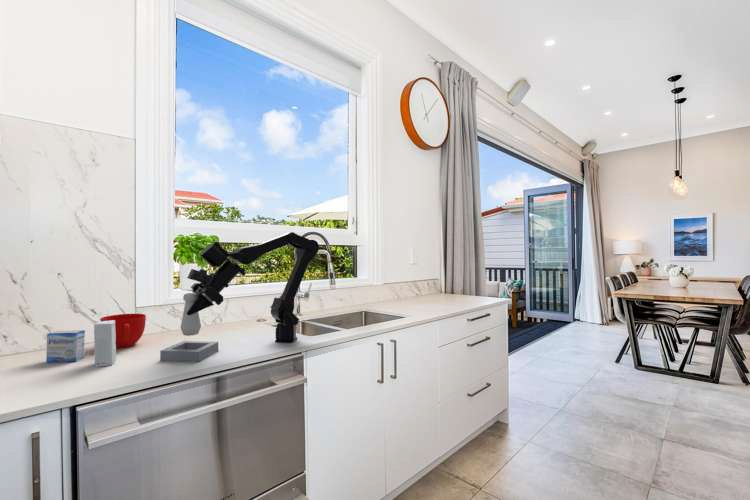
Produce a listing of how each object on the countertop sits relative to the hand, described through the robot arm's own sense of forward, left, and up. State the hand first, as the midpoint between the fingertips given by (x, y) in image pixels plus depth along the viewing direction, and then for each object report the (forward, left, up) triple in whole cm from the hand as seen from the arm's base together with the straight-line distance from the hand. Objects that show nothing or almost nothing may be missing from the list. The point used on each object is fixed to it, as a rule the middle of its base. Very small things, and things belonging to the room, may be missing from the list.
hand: (186, 313), depth 117 cm
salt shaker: (-1, -1, -7) cm, 7 cm away
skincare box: (+19, +9, -13) cm, 25 cm away
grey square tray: (-1, -1, -13) cm, 13 cm away
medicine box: (+33, +7, -14) cm, 36 cm away
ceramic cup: (+27, -9, -13) cm, 31 cm away
